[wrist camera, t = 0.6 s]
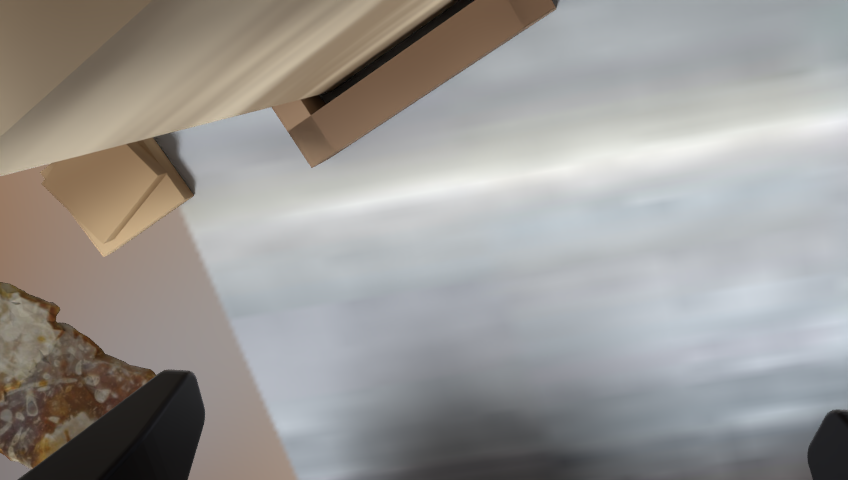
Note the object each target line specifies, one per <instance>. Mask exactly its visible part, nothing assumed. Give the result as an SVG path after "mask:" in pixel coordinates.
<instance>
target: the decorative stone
mask: <svg viewBox="0 0 848 480" xmlns="http://www.w3.org/2000/svg"><path fill="white" fill-rule="evenodd" d="M59 311H60V308H59V307H58V306H57V305H56V304H54V303H53V302H47V301H45V300H42V299H40V298H38V297H35V296H32V295H29V294H27V293H26V292H25V291H22V290H21V289H18V288H17V287H15V286H13V285H11V284H8V283H2V282H0V453H2V454H3V455H5V456H6V457H7V458H8V459H9V460H10V461H17V462H20V463H21V464H23V465H24V466H26V467H28V468H30V469H33V468H34V467H35V466H37V465H38V464H39V463H41V462H42V461H43V460H45V459H46V458H47V457H49V456H50V455H51V454H53V453H54V452H55V451H57V450H58V449H59V448H60V447H62V446H63V445H64V444H66V443H67V442H68V441H70V440H71V439H72V438H74V437H75V436H76V435H78V434H79V433H80V432H82V431H83V430H84V429H86V428H87V427H88V426H90V425H91V424H92V423H94V422H95V421H96V420H98V419H99V418H100V417H102V416H103V415H104V414H106V413H107V412H108V411H110V410H111V409H112V408H114V407H115V406H116V405H118V404H119V403H120V402H122V401H123V400H124V399H126V398H127V397H128V396H130V395H131V394H132V393H134V392H135V391H136V390H138V389H139V388H140V387H142V386H143V385H144V384H146V383H147V382H148V381H150V380H151V379H152V378H154V377H155V376H156V375H155V373H154V372H153V371H152V370H150V369H145V368H141V367H137V366H132V365H129V364H127V363H126V362H124V361H121V360H119V359H117V358H114V357H112V356H109V355H107V354H105V353H104V352H103V350H102V349H101V348H99V346H98V345H97V344H95V343H94V342H93V341H92V340H91V339H90V338H88V337H87V336H85V335H83V334H82V333H80V332H78V331H77V330H76V329H75V328H73V327H72V326H70V325H69V324H66V323H57V322H56V316H57V314H58V313H59Z"/></svg>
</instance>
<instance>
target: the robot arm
mask: <svg viewBox="0 0 848 480" xmlns="http://www.w3.org/2000/svg"><path fill="white" fill-rule="evenodd" d="M204 420H205V409H204V404H203V401H202V397H201V394H200V390H199V386H198V382H197V379H196V376H195V375H194V373H193V372H190V371H183V370H164V371H162V372H160V373H159V374H158V375H156V376H155V377H154V378H152V379H151V380H150V381H148V382H147V383H146V384H144V385H143V386H142V387H140V388H139V389H138V390H136V391H135V392H134V393H132V394H131V395H130V396H128V397H127V398H126V399H124V400H123V401H122V402H120V403H119V404H118V405H116V406H115V407H114V408H112V409H111V410H110V411H108V412H107V413H106V414H104V415H103V416H102V417H100V418H99V419H98V420H96V421H95V422H94V423H92V424H91V425H90V426H88V427H87V428H86V429H84V430H83V431H82V432H80V433H79V434H78V435H76V436H75V437H74V438H72V439H71V440H70V441H68V442H67V443H66V444H64V445H63V446H62V447H60V448H59V449H58V450H57V451H55V452H54V453H53V454H51V455H50V456H49V457H47V458H46V459H45V460H43V461H42V462H41V463H39V464H38V465H37V466H35V467H34V468H33V469H31V470H30V471H29V472H27V473H26V474H25V475H23V476H22V477H21V478H19V479H18V480H188V476H189V473H190V470H191V466H192V463H193V459H194V456H195V453H196V449H197V446H198V442H199V439H200V436H201V432H202V429H203V425H204ZM808 464H809V468H810V471H811V474H812V477H813V480H848V410H837V409H836V410H832V411H830V412H829V413H827V415H826V416H825V418H824V420H823V421H822V423H821V425H820V427H819V429H818V431H817V432H816V434H815V436H814V438H813V440H812V441H811V443H810V445H809V448H808Z"/></svg>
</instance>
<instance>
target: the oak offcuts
mask: <svg viewBox="0 0 848 480" xmlns="http://www.w3.org/2000/svg"><path fill="white" fill-rule="evenodd" d="M40 173H41V174H42V176H43V177H44V178H45V180H44V181H43V183H42V185H43V186H44V187H45V188H46V189H47V190H48V191H49V192H50V193H51V194H52V195H53V196H54V197H55V198H56V199H57V200H58V201H59V202H60V203H61V204H63V205H64V206H65V207H66V208H67V209H68V210H69V212H70V213H71V214H72V215H73V217H74V218H75V220H76V221H77V222H78V224H79V225H80V226H81V228H82V229H83V230H84V232H85V233H86V234H87V236H88V237H89V238H90V240H91V241H92V243H93V244H94V245H95V246H96V248H97V249H98V251H99V252H100V253H101V255H102V256H103V257H105V256H107V255H109V254H111V253H113V252H114V251H116V250H117V249H119V248H120V247H122V246H123V245H124V244H126V243H127V242H128V241H130V240H132V239H133V238H134V237H136V236H137V235H139V234H140V233H142V232H143V231H144V230H146V229H147V228H149V227H150V226H151V225H153V224H154V223H156V222H157V221H159V220H160V219H161V218H163V217H164V216H166V215H167V214H169V213H170V212H171V211H173V210H174V209H176V208H177V207H179V206H180V205H181V204H183V203H184V202H186V201H187V200H189V199H190V198H191V197H193V196H194V195H193V194H192V192H191V191H190V189H189V188H188V186H187V185H186V184H185V182H184V181H183V179H182V178H181V177H180V175H179V174H178V172H177V171H176V169H175V168H174V167H173V165H172V164H171V162H170V161H169V159H168V158H167V157H166V155H165V154H164V152H163V151H162V150H161V148H160V147H159V145H158V144H157V142H156V141H155V140H154V138H153V137H152V138H148V139H144V140H140V141H136V142H132V143H128V144H124V145H120V146H116V147H112V148H109V149H105V150H101V151H97V152H93V153H89V154H85V155H81V156H77V157H73V158H69V159H66V160H62V161H58V162H54V163H51V164H50V165H48V166H47V167H46V168H45V169H44V170H42V171H41V172H40Z"/></svg>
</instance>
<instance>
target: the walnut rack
mask: <svg viewBox="0 0 848 480" xmlns="http://www.w3.org/2000/svg"><path fill="white" fill-rule="evenodd" d="M554 10H556V7H555V5H554V4H553V2H552V0H475V1H473V2H472V3H470V4H469V5H468V6H466V7H465V8H463V9H462V10H460V11H459V12H458V13H456V14H455V15H453V16H452V17H450V18H449V19H448V20H446V21H445V22H443V23H442V24H440V25H439V26H438V27H436V28H435V29H433V30H432V31H430V32H429V33H428V34H426V35H425V36H423V37H422V38H420V39H419V40H418V41H416V42H415V43H413V44H412V45H410V46H409V47H408V48H406V49H405V50H403V51H402V52H400V53H399V54H398V55H396V56H395V57H393V58H392V59H390V60H389V61H388V62H386V63H385V64H383V65H382V66H380V67H379V68H378V69H376V70H375V71H373V72H372V73H370V74H369V75H368V76H366V77H365V78H363V79H362V80H361V81H359V82H358V83H356V84H355V85H353V86H352V87H351V88H349V89H348V90H346V91H345V92H343V93H342V94H341V95H339V96H338V97H336V98H335V99H333V100H332V101H331V102H329V103H328V104H325V103H324V101H323V100H322V98H321V97H320V95H316V96H312V97H308V98H304V99H300V100H296V101H293V102H289V103H285V104H281V105H277V106H273V107H272V109H273V110H274V112H275V113H276V115H277V116H278V118H279V119H280V121H281V122H282V124H283V125H284V127H285V128H286V130H287V131H288V133H289V134H290V136H291V137H292V139H293V140H294V142H295V143H296V145H297V146H298V148H299V149H300V151H301V152H302V154H303V155H304V157H305V158H306V160H307V161H308V163H309V164H310V166H311V168H313V167H314V166H316V165H318V164H320V163H322V162H324V161H326V160H327V159H329V158H331V157H332V156H334V155H335V154H337V153H338V152H340V151H341V150H343V149H345V148H346V147H348V146H349V145H351V144H352V143H354V142H355V141H357V140H358V139H360V138H361V137H363V136H364V135H366V134H367V133H369V132H370V131H372V130H373V129H375V128H376V127H378V126H379V125H381V124H383V123H384V122H386V121H387V120H389V119H390V118H392V117H393V116H395V115H396V114H398V113H399V112H401V111H402V110H404V109H405V108H407V107H408V106H410V105H411V104H413V103H414V102H416V101H417V100H419V99H420V98H422V97H424V96H425V95H427V94H428V93H430V92H431V91H433V90H434V89H436V88H437V87H439V86H440V85H442V84H443V83H445V82H446V81H448V80H449V79H451V78H452V77H454V76H455V75H457V74H458V73H460V72H461V71H463V70H465V69H466V68H468V67H469V66H471V65H472V64H474V63H475V62H477V61H478V60H480V59H481V58H483V57H484V56H486V55H487V54H489V53H490V52H492V51H493V50H495V49H496V48H498V47H499V46H501V45H503V44H504V43H506V42H507V41H509V40H510V39H512V38H513V37H515V36H516V35H518V34H519V33H521V32H522V31H524V30H525V29H527V28H528V27H530V26H531V25H533V24H534V23H536V22H537V21H539V20H540V19H542V18H544V17H545V16H547V15H548V14H550V13H551V12H553V11H554Z"/></svg>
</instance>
